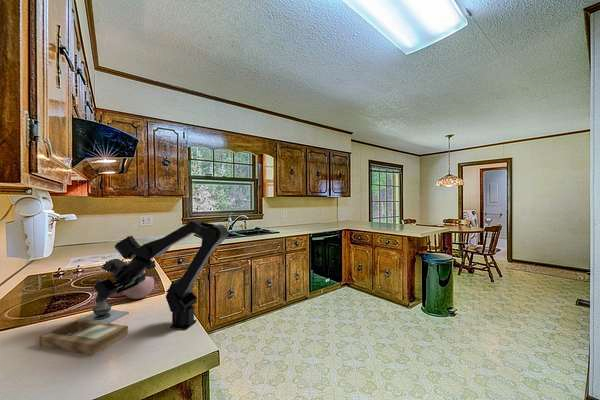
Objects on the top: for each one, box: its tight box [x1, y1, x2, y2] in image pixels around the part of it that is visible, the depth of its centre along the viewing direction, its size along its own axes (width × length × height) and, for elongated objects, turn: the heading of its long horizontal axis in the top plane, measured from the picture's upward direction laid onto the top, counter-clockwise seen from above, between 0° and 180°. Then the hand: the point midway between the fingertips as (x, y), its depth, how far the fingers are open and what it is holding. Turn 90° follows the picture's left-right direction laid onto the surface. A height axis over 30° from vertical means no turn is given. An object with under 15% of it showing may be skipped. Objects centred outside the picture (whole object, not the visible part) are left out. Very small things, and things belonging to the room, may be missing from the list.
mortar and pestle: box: [122, 275, 155, 300], centre depth 117 cm, size 12×12×12 cm
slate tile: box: [80, 309, 130, 324], centre depth 97 cm, size 12×12×1 cm
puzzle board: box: [38, 318, 129, 356], centre depth 82 cm, size 20×12×3 cm, turn 78°
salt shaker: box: [91, 298, 113, 320], centre depth 97 cm, size 6×6×12 cm
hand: (107, 297), depth 97 cm, fingers open, 9 cm apart
